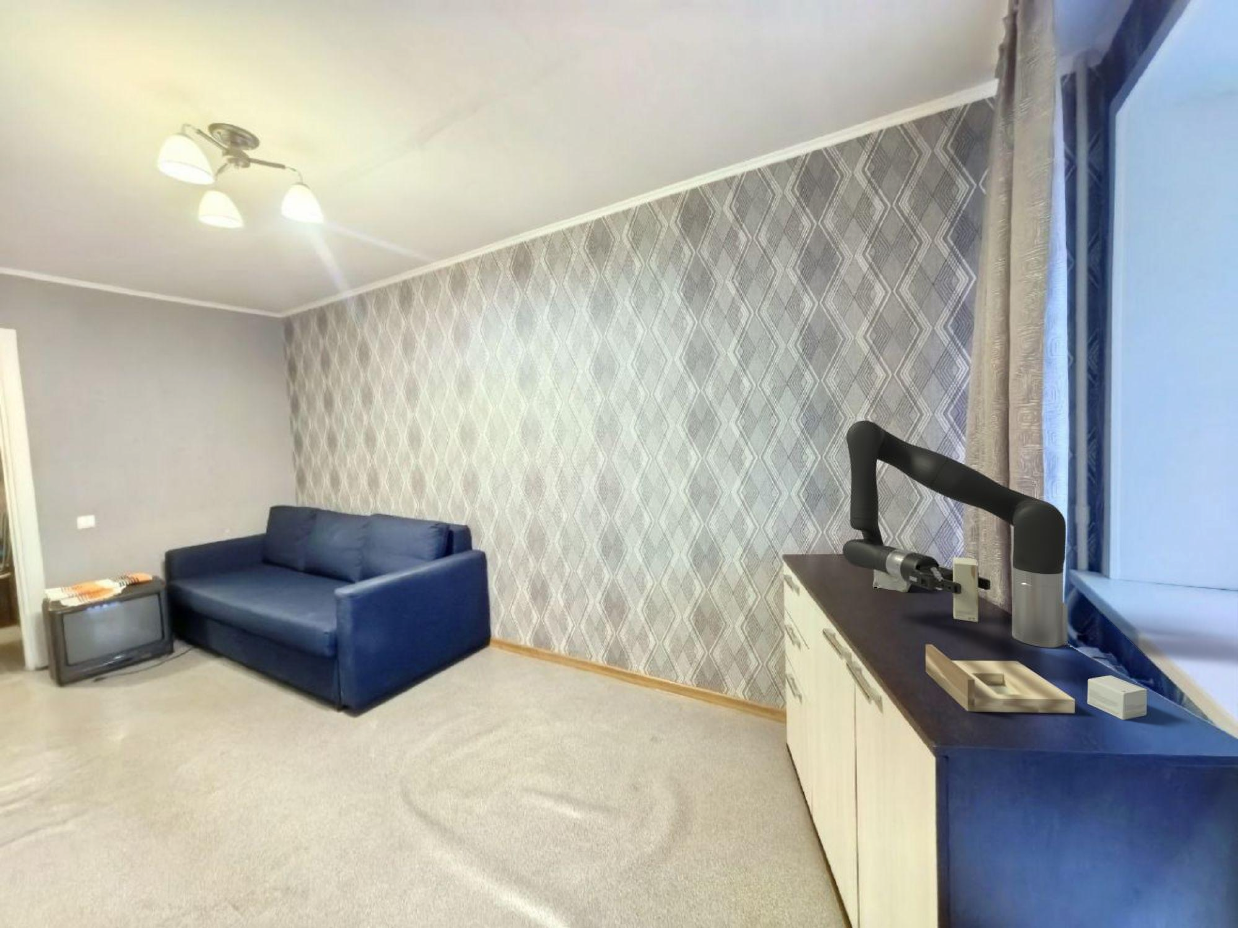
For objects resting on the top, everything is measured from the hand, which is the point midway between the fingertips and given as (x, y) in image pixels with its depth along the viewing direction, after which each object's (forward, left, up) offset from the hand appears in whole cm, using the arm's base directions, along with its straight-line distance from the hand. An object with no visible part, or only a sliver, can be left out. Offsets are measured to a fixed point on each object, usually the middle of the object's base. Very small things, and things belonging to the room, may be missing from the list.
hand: (974, 587), depth 105 cm
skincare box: (+1, -2, -7) cm, 8 cm away
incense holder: (-6, -55, -18) cm, 58 cm away
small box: (-15, +15, -18) cm, 28 cm away
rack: (+2, +9, -18) cm, 20 cm away
